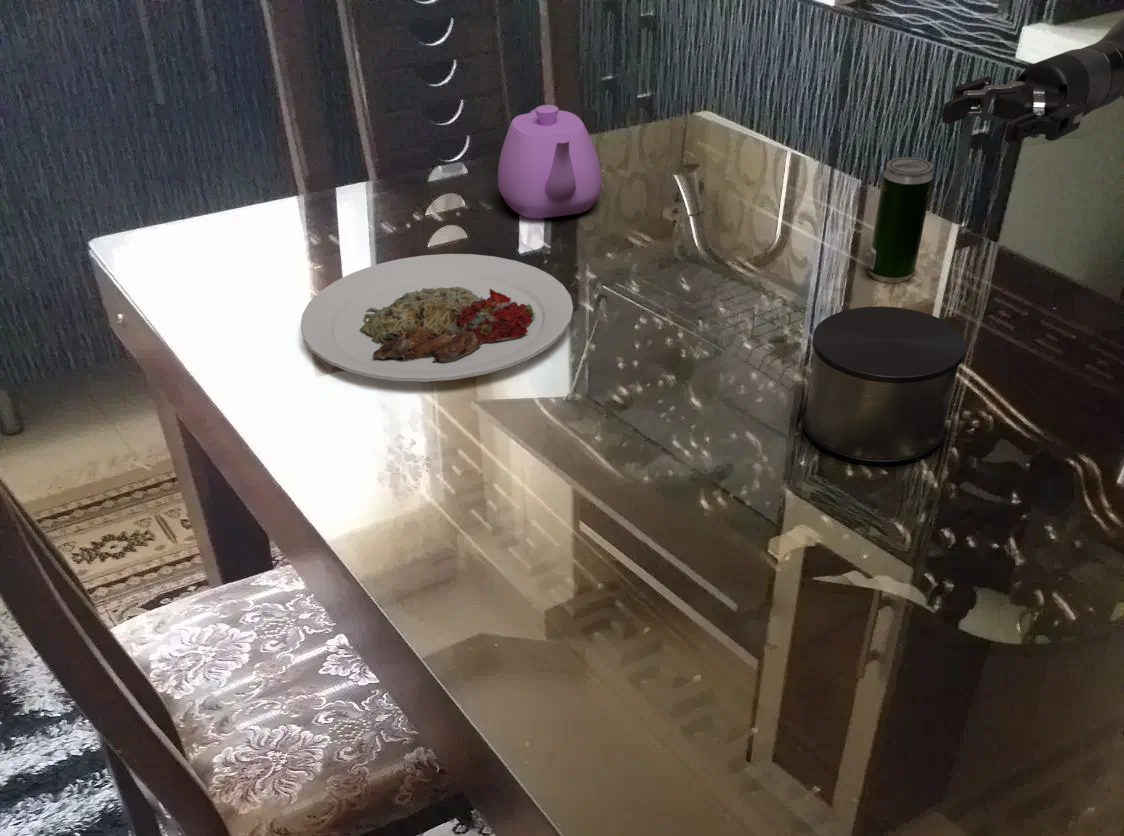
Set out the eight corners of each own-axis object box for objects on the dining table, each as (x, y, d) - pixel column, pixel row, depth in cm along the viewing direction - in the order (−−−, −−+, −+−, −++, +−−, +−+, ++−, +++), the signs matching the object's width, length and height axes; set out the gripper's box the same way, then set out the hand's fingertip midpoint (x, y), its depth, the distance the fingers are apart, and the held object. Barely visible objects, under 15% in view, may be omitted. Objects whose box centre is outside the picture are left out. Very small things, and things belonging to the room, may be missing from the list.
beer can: (877, 286, 132) (896, 176, 123) (859, 267, 136) (876, 159, 127) (921, 281, 132) (943, 171, 124) (902, 262, 136) (922, 154, 128)
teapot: (488, 186, 156) (481, 91, 148) (583, 175, 158) (582, 80, 150) (517, 244, 143) (511, 143, 134) (620, 232, 144) (621, 131, 136)
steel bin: (928, 391, 115) (947, 304, 109) (959, 466, 106) (982, 375, 99) (792, 394, 116) (803, 307, 109) (811, 468, 106) (824, 378, 100)
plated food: (277, 299, 134) (271, 270, 132) (517, 251, 141) (516, 223, 139) (341, 420, 114) (336, 389, 112) (616, 358, 122) (616, 327, 119)
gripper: (1019, 41, 137) (932, 71, 130) (1126, 67, 129) (1040, 102, 122) (1003, 109, 142) (919, 142, 136) (1105, 139, 135) (1021, 175, 128)
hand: (976, 123), depth 129 cm, fingers open, 8 cm apart
